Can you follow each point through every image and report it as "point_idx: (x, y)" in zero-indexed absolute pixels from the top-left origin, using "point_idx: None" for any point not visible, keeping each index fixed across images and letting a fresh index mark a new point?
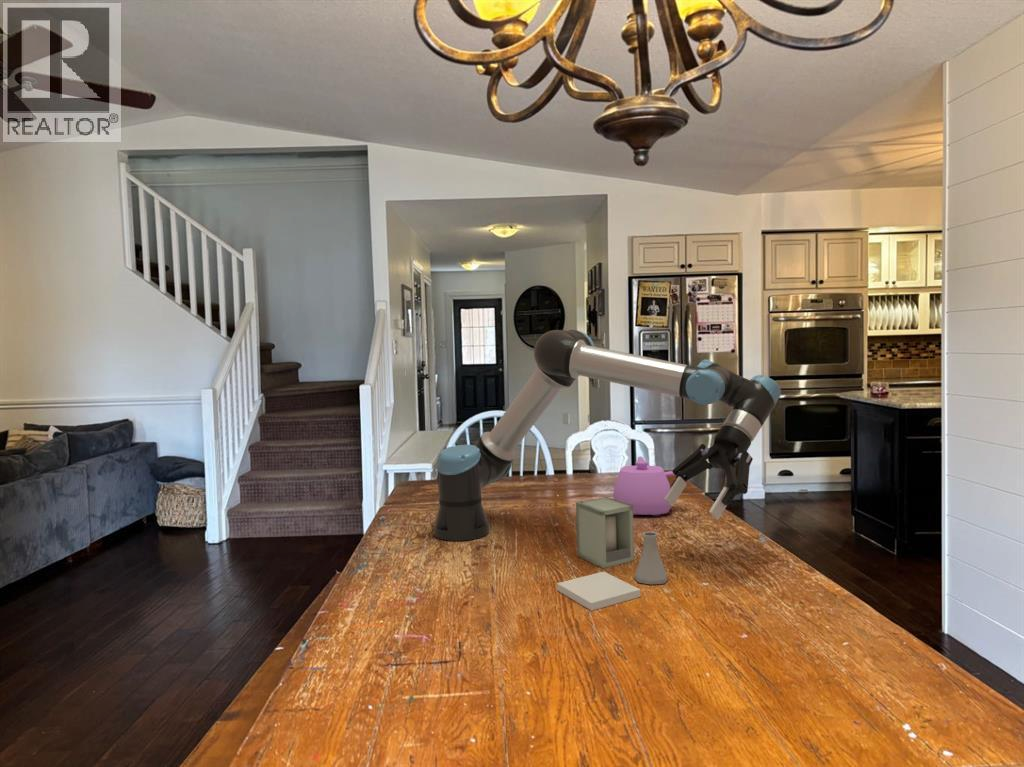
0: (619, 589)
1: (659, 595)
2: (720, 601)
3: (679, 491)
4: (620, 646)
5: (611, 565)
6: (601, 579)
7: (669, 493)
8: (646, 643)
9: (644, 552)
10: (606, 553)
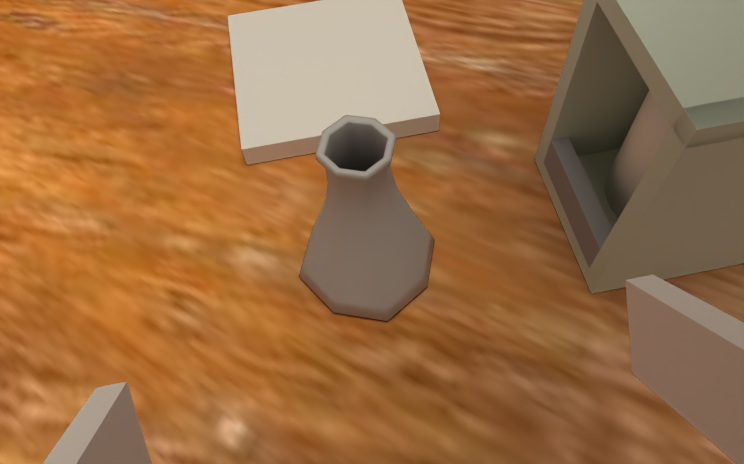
0: (273, 100)
1: (226, 219)
2: (65, 377)
3: (726, 427)
4: (38, 26)
5: (549, 191)
6: (373, 85)
7: (671, 301)
8: (10, 71)
9: (355, 168)
10: (561, 144)
